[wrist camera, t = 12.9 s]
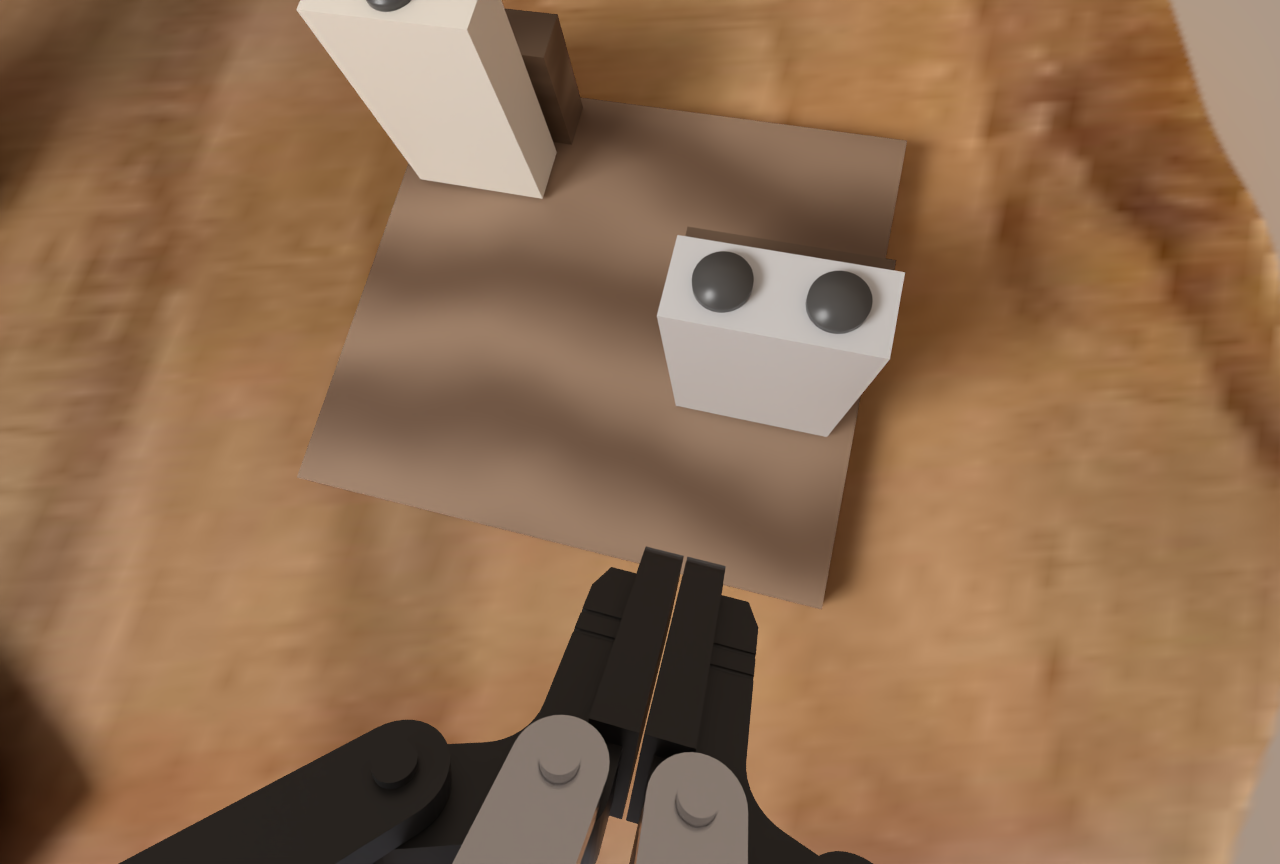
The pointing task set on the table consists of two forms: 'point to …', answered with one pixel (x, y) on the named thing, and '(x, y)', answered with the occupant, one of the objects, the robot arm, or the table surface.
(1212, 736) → the table surface
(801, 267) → the tile two
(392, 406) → the brown piece
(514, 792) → the robot arm
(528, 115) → the tile one
